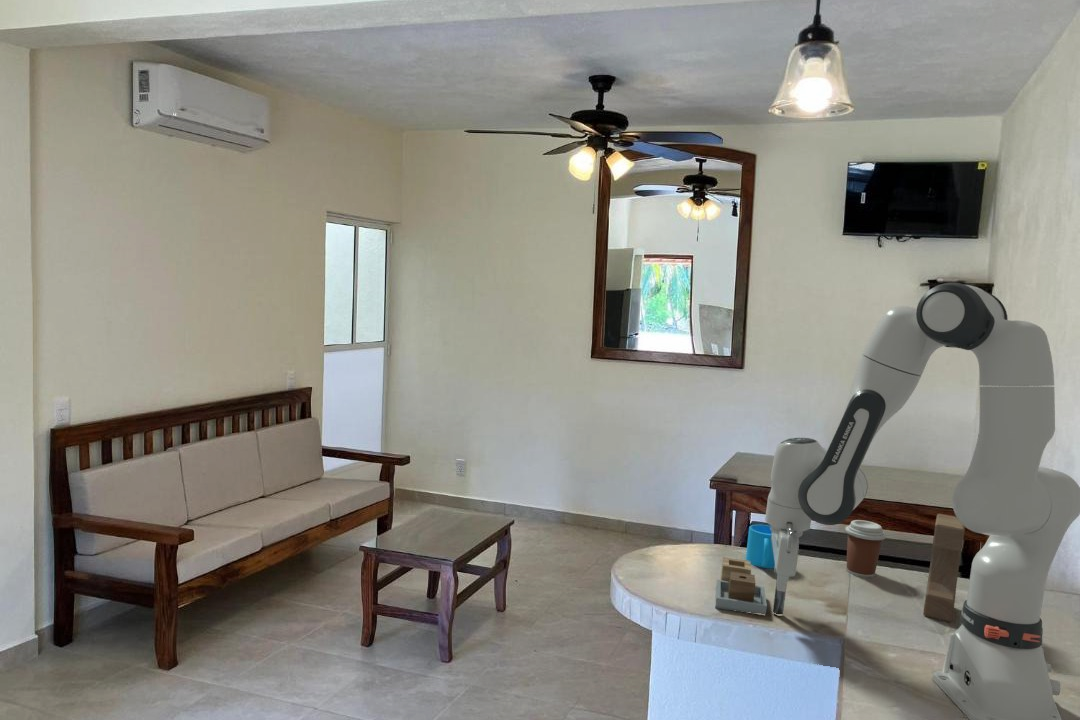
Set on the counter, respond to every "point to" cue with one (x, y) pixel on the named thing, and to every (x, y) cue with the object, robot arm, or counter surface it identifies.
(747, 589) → the block
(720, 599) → the tray
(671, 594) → the counter surface
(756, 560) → the mug
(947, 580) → the decorative block
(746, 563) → the block
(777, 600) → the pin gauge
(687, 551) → the counter surface
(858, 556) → the coffee cup
